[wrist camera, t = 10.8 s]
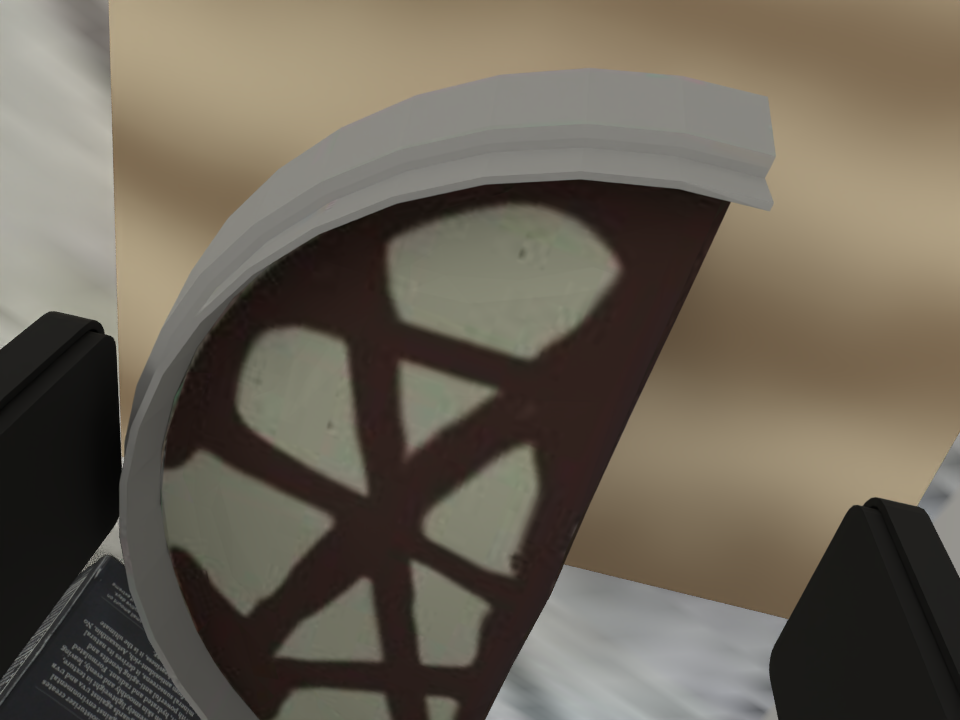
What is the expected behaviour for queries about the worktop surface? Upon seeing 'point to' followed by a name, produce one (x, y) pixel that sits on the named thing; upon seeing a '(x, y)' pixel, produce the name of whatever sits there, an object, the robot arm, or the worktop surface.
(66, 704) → the small box
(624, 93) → the food container
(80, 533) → the robot arm
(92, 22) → the worktop surface
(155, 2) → the oak base
